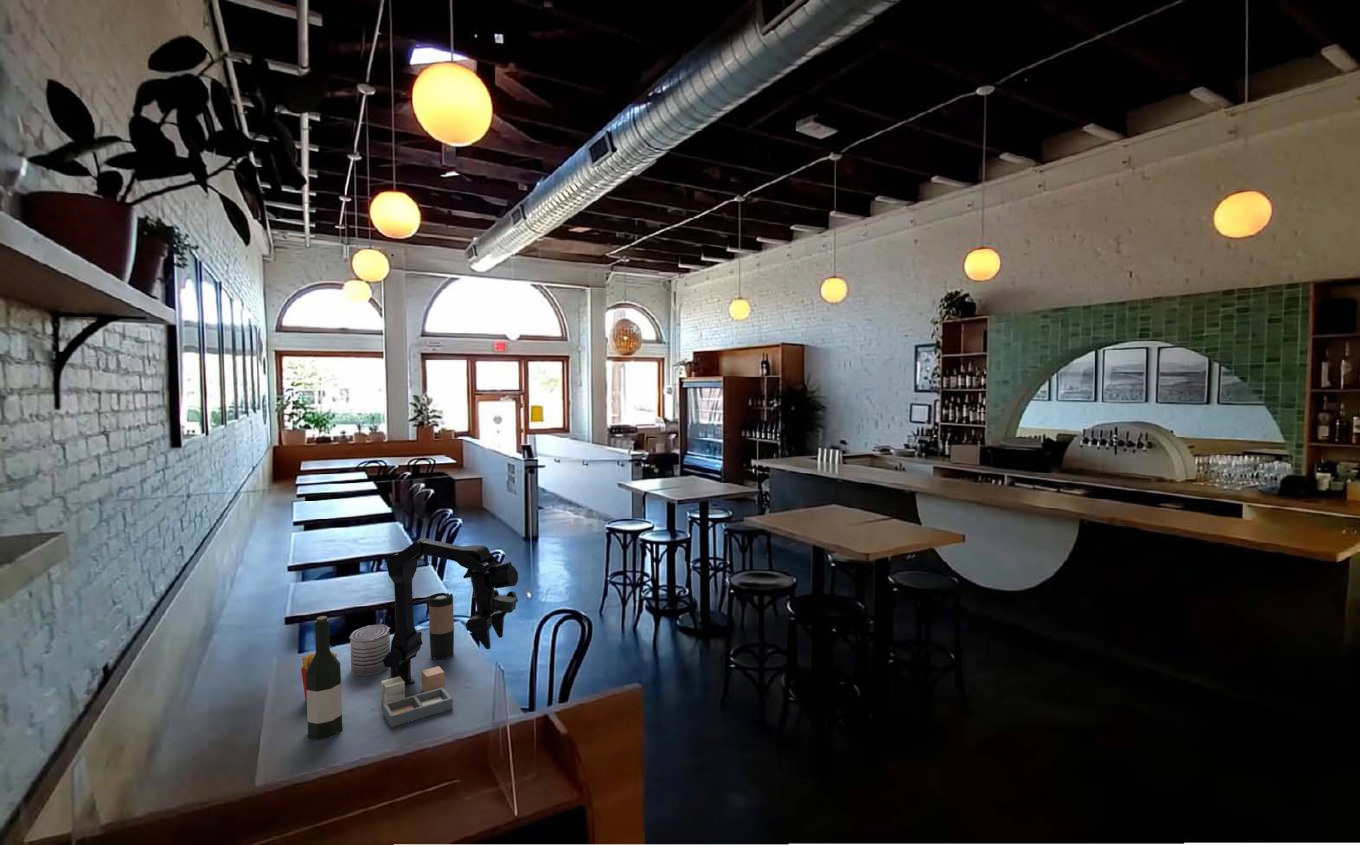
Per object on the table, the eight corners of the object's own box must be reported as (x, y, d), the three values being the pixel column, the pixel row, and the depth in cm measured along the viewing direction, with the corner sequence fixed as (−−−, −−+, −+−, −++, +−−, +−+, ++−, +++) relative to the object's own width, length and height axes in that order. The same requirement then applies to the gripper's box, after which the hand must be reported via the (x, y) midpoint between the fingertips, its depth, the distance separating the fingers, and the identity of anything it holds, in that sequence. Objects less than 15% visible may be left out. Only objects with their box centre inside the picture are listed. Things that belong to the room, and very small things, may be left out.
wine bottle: (316, 723, 172) (312, 612, 170) (349, 722, 173) (345, 611, 171) (300, 740, 164) (296, 624, 162) (335, 739, 164) (331, 623, 163)
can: (398, 665, 207) (397, 628, 207) (364, 679, 198) (363, 640, 197) (377, 657, 213) (376, 621, 213) (343, 670, 204) (342, 633, 203)
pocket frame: (383, 714, 176) (383, 704, 176) (443, 697, 186) (442, 687, 186) (391, 727, 170) (390, 716, 170) (452, 709, 179) (452, 698, 179)
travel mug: (431, 661, 210) (429, 601, 209) (428, 653, 217) (427, 594, 216) (456, 657, 214) (454, 597, 212) (452, 649, 220) (451, 591, 219)
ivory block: (381, 701, 184) (381, 681, 183) (400, 696, 187) (400, 676, 187) (386, 708, 180) (385, 687, 180) (405, 703, 183) (404, 682, 183)
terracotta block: (422, 690, 190) (421, 670, 190) (439, 685, 194) (438, 666, 193) (427, 697, 187) (426, 676, 186) (444, 692, 190) (444, 672, 189)
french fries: (300, 703, 183) (298, 658, 182) (306, 696, 187) (305, 652, 186) (335, 700, 184) (333, 656, 183) (340, 693, 188) (339, 650, 188)
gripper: (497, 595, 177) (509, 650, 177) (521, 576, 196) (531, 627, 196) (459, 601, 178) (471, 657, 178) (486, 583, 197) (497, 633, 197)
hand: (494, 643), depth 187 cm, fingers open, 9 cm apart
